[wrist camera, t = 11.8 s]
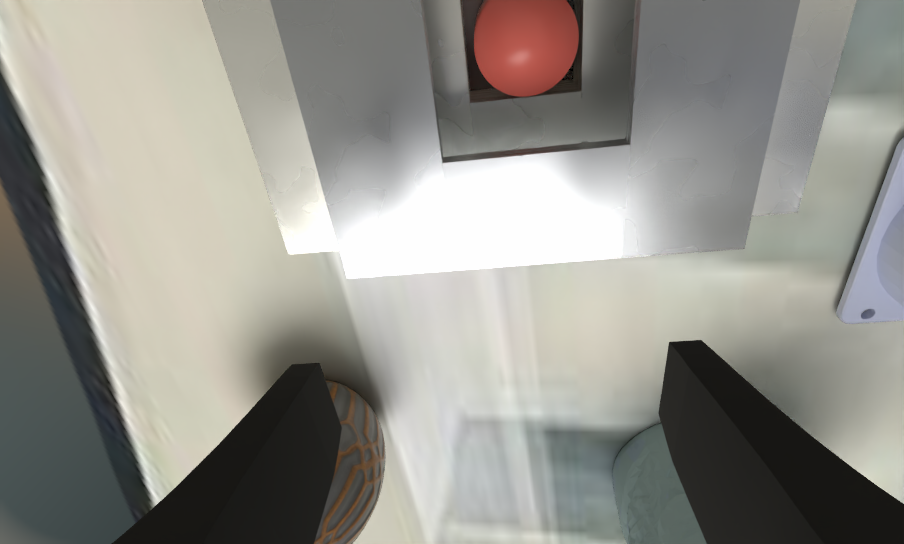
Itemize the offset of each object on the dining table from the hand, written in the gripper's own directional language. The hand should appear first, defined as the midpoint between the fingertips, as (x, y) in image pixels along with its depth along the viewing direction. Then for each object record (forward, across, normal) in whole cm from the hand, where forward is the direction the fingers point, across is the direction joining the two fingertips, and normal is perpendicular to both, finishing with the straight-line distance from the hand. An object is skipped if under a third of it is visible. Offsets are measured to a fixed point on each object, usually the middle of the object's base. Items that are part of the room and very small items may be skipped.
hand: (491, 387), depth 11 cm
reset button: (+10, -1, -6) cm, 11 cm away
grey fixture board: (+10, -2, -6) cm, 11 cm away
